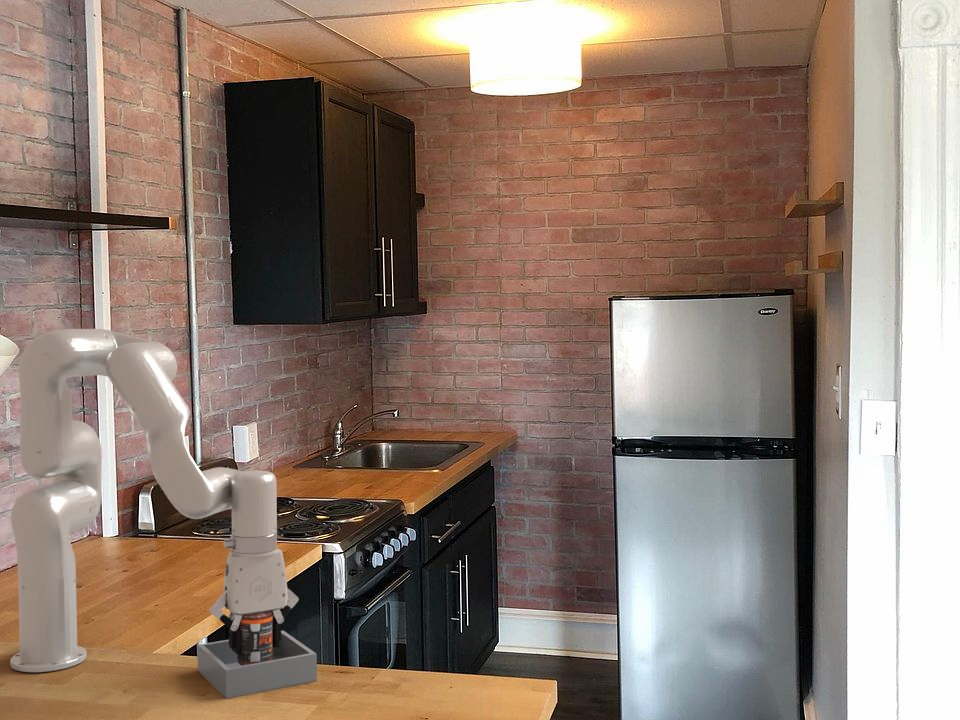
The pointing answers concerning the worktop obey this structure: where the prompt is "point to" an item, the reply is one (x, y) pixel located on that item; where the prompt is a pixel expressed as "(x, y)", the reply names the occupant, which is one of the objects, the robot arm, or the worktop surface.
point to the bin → (257, 667)
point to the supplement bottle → (256, 638)
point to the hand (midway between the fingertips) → (255, 647)
